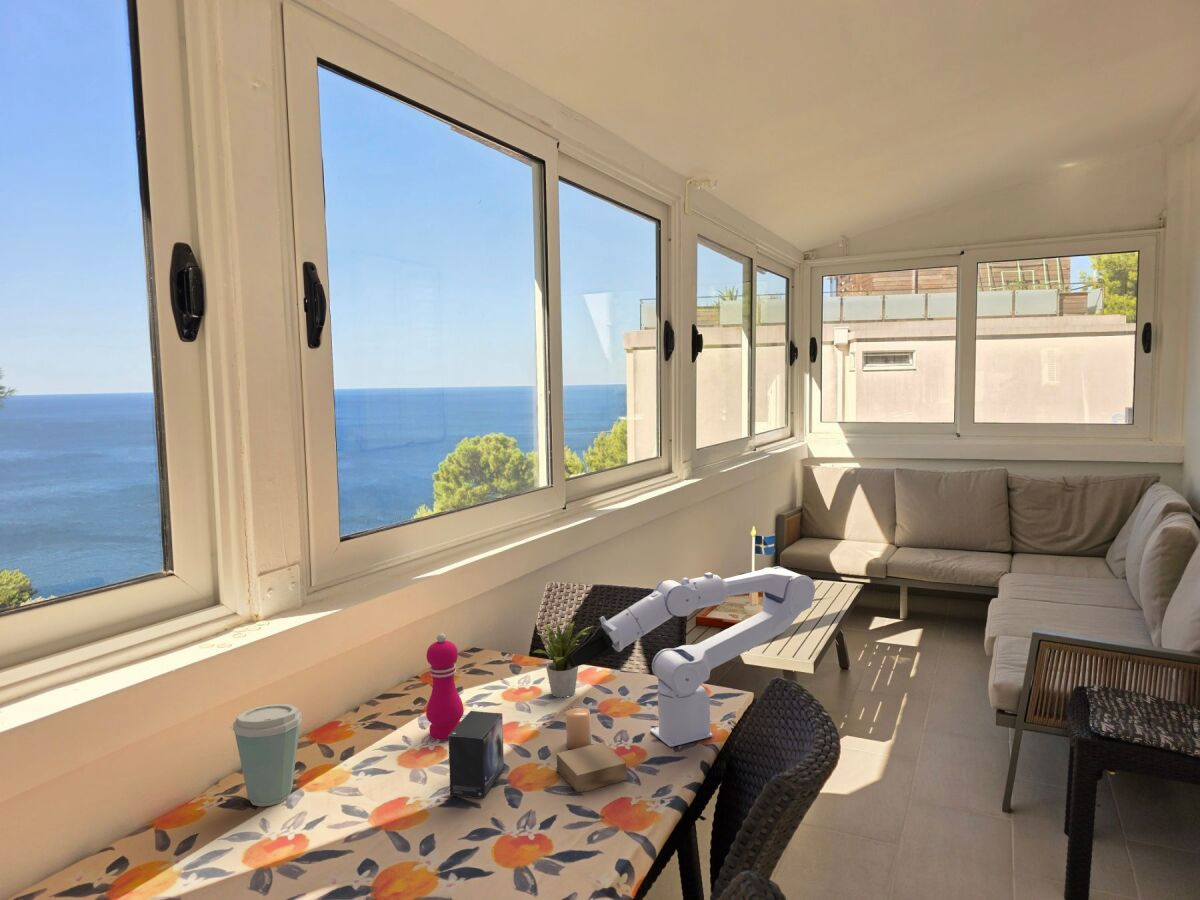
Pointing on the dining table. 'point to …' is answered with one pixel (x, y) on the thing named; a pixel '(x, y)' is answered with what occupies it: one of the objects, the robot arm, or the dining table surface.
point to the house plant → (561, 660)
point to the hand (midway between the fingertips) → (571, 661)
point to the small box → (476, 754)
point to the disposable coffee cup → (268, 751)
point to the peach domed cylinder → (578, 728)
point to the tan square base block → (591, 767)
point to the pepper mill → (443, 689)
